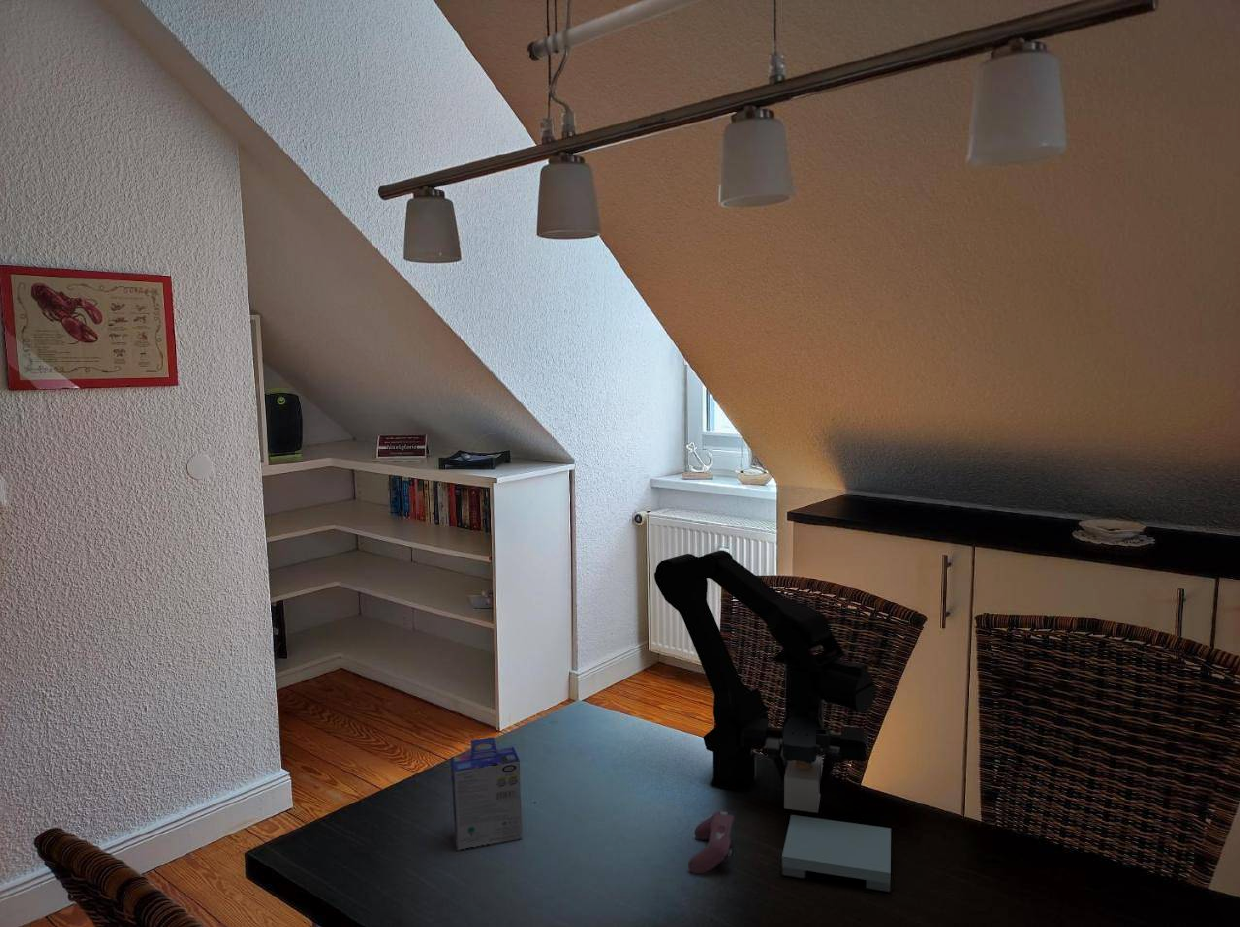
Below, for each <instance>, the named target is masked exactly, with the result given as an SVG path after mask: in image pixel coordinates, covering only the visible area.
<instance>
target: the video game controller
mask: <svg viewBox="0 0 1240 927" xmlns="http://www.w3.org/2000/svg"><path fill="white" fill-rule="evenodd" d="M734 820H735V816H734V815H733V814H732V813H730V812H727V811H722V810H721V809H719V810H718V811H716V812H714V813H713V814H712V815H711V816H710V817H708V818H707V819H705V820H704V821H701V822H700V823H699V824H698V825H697V826H696V828H695V830H694V836H695V837H696V838H697V840H700V841H701V840H702V841H707V840H709V841H708V843H707V845H706V846H705V847H704V848H702V850H701V851H699V852H697V853H696V854H694V855H693V856H692V857H691V858H690V860H689V861H688V864H687V868H688V870H689V871H690V872H691V873H693V874H702V873H705V872H708V871H710V870H712V869H714V868H715V866H717V865H718V864H720V863H722V862H723V861H724V859H725V857H727V858H729V857H731V855H732V852H733V851H732V848H730V845H731V842H732V838H730V835H731V831H732V826H733V823H734Z"/></svg>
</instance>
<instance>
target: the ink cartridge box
mask: <svg viewBox="0 0 1240 927" xmlns="http://www.w3.org/2000/svg"><path fill="white" fill-rule="evenodd" d="M495 739H496V738H495V737H485V738H481V739H479V738H478V739H472V740H470V749H471V750H470V753H469V754H464V755H458V756H452V757H450V759H449V760H450V772H451V790H452V805H453V820H454V821H453V823H454V833H453V834H454V836H455V837H454V842H455V841H456V842H455V847H456V846H457V847H456V850H457V849H458V850H457V851H460V850H459V849H464V850H466V849H465V848H469V847H474V848H477V847H476V846H479V847H482V846H481V845H484V846H488V845H487V844H489V845H495V844H499V843H505V842H511V841H515V840H521V839H523V837H524V836H523V818H522V817H523V815H522V814H523V813H522V797H521V796H522V794H521V793H522V792H521V786H522V785H521V761H520V758H519V755H518V754H517V752H516V749H515V747H514V746H510V747H504V748H498V749H497V747H496V746H497V745H496V741H495ZM483 744H485V745H491V747H490V748H486V749H485V748H483V749H480V750H479V749H478V750H476V749H475V748H476V747H478V746H481V745H483ZM494 843H495V844H494ZM469 849H470V848H469Z"/></svg>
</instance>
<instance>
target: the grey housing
mask: <svg viewBox="0 0 1240 927" xmlns="http://www.w3.org/2000/svg"><path fill="white" fill-rule="evenodd" d="M822 768H823V756H817V757H816V761H815V762H813V763H806V762H804V761H796V760H793V761H788V760H787V768H786V772H785V776H784V787H783V791H784V792H783V797H784V798H783V808H784V809H789V810H796V811H804V812H809V813H817V814H818V813H819V809H820V808H819V806H820V802H821V795H822V794H820V781H821V775H822Z"/></svg>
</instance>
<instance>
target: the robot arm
mask: <svg viewBox="0 0 1240 927" xmlns="http://www.w3.org/2000/svg"><path fill="white" fill-rule="evenodd" d="M653 579H654V582H655V585H656V587H657V588H658V590H659V592H660V593H661V595H662V597H663V598H664V600H665V601H666V602H667V603H668V604H669V605H671V606H672V607H673V608H674V610H676V611H678V613H679V615H680V616H681V619H682V621H683V623H684V625H685V628H686V631H687V632H688V636H689V638H690V640H691V643H692V646H693V647H694V649H695V652H696V654H697V658H698V659H699V662H700V664H701V666H702V668H703V671H704V673H705V676H706V678H707V680H708V683H709V685H710V687H711V689H712V692H713V706H712V715H713V719H714V723H715V727H714V728H712V729H711V730H710V731H708V732H707V733H706V734H705V735H704V736H703V741H704V745H705V749H706V750H707V751H710V752H712V778H711V780H710V786H711V787H712V788H719V789H725V790H726V789H727V790H734V791H742V792H750V791H751V789H752V787H753V784H754V783H756V779H757V777H758V776H757V774H758V768H757V767H758V765H757V764H758V760H757V759H758V757H757V756H758V755H757V754H758V753H757V752H754V750H761V753H762V754H763V755H765V756H766V755H767V756H768V757H769V758H770V759H771V760H772V761H773V763H774V766H775V767H776V769H777V772H778V776H779V778H780V781H781V784H782V786H783V788H784V776H785V772H786V768H787V764H788V761H793V760H796V761H804V762H806V763H813V762H815V761H816V757H818V756H823V754H824V756H823V761H822V775H821V781H820V794H821V795H823V794H824V790H825V789H826V786H827V783H828V781H829V778H830V774H831V773H832V771H833V769H834V767H836V765H837V764H844V763H845V761H854V762H866V761H867V760H868V759H867V757H868V745H869V744H868V741H869V740H868V737H869V735H868V734H869V733H868V732H867V731H866V730H865V728H864V729H863V728H856V727H848V726H841V727H840V728H841V729H840V733H836V732H835V733H834V732H831V730H830V728H824V702H825V703H827V704H829V705H833V706H837V707H840V708H843V709H847V710H850V711H853V712H857V713H861V714H864V713H866V712H867V711H868V710H869V709H870V707H871V706H872V703H873V700H874V697H875V694H876V683H874V679H873V676H872V675H871V674H870V673H869V672H868V671H869V670H868V665H867V664H864V663H860V662H852V661H848V660H845V659H843V658H844V657H845V655H846V654H845V652H844V650H843V649H842V647H841V645H840V644H839V642H838V640H837V638H836V637H835V635H834V634H833V631H832V630H831V627H830V624H829V623H830V621H829V620H828V618H827V617H826V616H825V615H824V613H822V612H820V611H818V610H816V609H815V608H813V607H811V606H809V605H807V604H805V603H802V602H799V601H796V600H791V599H788V598H787V597H785V596H784V595H782V594H780V592H778V591H777V590H775V589H774V588H772V587H771V586H770V585H769V584H767V583H766V582H765V581H763V580H762V579H760V578H759V577H758V576H756V574H754V573H753V572H751V571H750V570H749V569H748V568H746V567H745V566H743V565H742V564H741V563H740V562H738V561H737V560H736V559H734V557H733V555H731V553H730V552H728V551H726V550H722V549H721V550H716V551H714V552H713V551H712V552H710V553H707V554H705V555H701V556H695V555H694V554H691V553H686V554H681V555H679V556H675V557H671V558H667V559H664V560H660V561H659V562H658V563H657V565H656V567H655V570H654V573H653ZM708 579H710V580H712V581H713V582H714V583H716V584H717V585H718V586H719V587H720V588H722V589H723V590H724V591H726V593H728V594H729V595H730V596H732V597H733V598H734V599H735V600H737V601H738V602H739V603H741V605H743V606H745V608H747V609H748V610H749V611H751V612H752V613H753V614H755V615H756V616H757V617H759V618H760V619H761V620H762V622H764V624H765V625H767V628H768V631H769V634H770V636H771V637H772V638H773V640H774V641H776V642H777V644H778V645H779V646H780V647H781V650H780V651H779V652H778V653H777V654H775V655H774V656H772V661H774V662H776V663H779V664H783V665H785V668H784V671H785V676H784V677H785V678H784V679H785V680H784V681H785V684H784V687H785V688H784V689H785V691H784V695H785V696H784V698H785V699H784V708H785V709H784V719H783V722H782V726H781V727H782V728H781V727H772V721H771V719H770V718H769V715H768V712H769V711H770V709H769V707H768V706H767V705H766V704H765V702H764V699H763V695H762V693H761V691H760V690H759V688H757V687H755V688H753V689H751V688H749V687H748V686H747V685H745V683H744V682H742V680H741V678H740V676H739V673H738V670H737V668H736V666H735V663H734V662H733V659H732V656H731V655H730V652H729V649H728V647H727V645H726V642H725V641H724V638H723V636H722V633H721V631H720V628H719V627H718V624H717V621H716V620H715V618H714V615H713V613H712V610H711V608H710V606H709V603H708V590H709V589H708V588H709V581H708ZM821 647H822V648H823V649H824V650H822V651H819V652H818V653H816V654H814V653H813V651H816V650H817V649H819V648H821Z"/></svg>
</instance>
